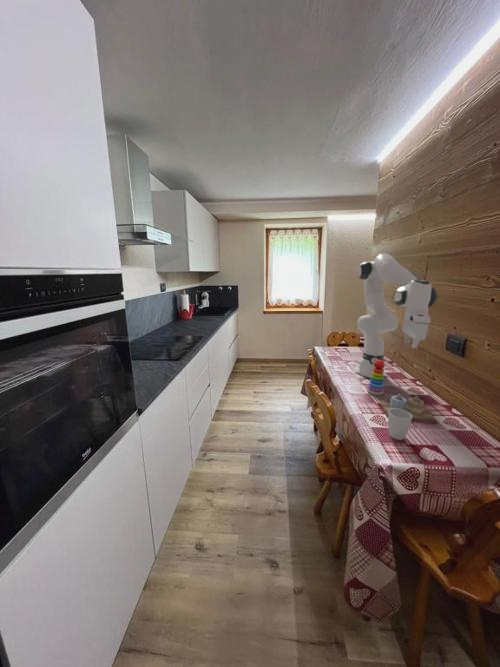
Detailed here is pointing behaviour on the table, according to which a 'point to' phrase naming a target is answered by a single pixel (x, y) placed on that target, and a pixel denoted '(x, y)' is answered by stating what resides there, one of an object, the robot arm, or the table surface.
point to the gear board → (414, 416)
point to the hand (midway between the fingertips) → (410, 345)
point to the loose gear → (398, 403)
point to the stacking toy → (376, 379)
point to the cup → (398, 423)
